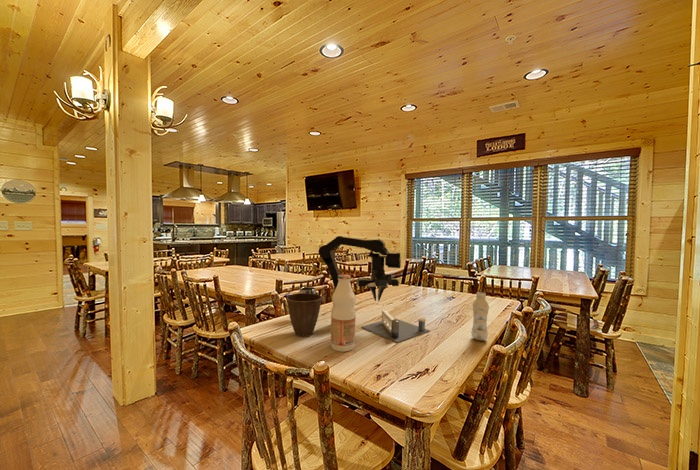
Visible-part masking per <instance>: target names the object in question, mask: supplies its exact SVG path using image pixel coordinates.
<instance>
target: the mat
mask: <svg viewBox="0 0 700 470" xmlns="http://www.w3.org/2000/svg"><path fill="white" fill-rule="evenodd" d="M393 318H394V319H395V320H399V338H397V339H394V338H392V337H391V335H392V334H391V333H390V332H389V330H388V329H387V328H386V327H385V326H384V324H383V323H382V320H381V321H376V322H373V323H370V324H365V325H362V326H361V329H364V330H366V331H368V332H370V333H373V334H375V335H378V336H380V337H382V338H385V339H387V340H389V341H392V342H393V343H396V344H400V343H402V342H405V341H407V340H410V339H413V338H416V337H418V336H421V335H423V334H427V333H429V332H430V329H427V328H425V331H423V332H421V331H418V326H419V325H417V324H412V323H409V322H407V321H404V320H401V319H398V318H396V317H393ZM388 323H389V320H388Z"/></svg>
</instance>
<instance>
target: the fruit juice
mask: <svg viewBox="0 0 700 470" xmlns="http://www.w3.org/2000/svg"><path fill="white" fill-rule="evenodd" d="M338 280H339V282H338V284H337V287H336V289H335V290H334V293H333V294H332V296H331V302H332V308H331V312H330V318H331V319H330V347H331V349H332V350H334V351H336V352H341V353H342V352H350V351H352V350H354V349H355V346H356V316H357V315H356V308H355V304H356V294H355V293H354V290H353V288H352V284H351V275H350V274H340V275H338Z"/></svg>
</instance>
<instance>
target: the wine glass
mask: <svg viewBox="0 0 700 470" xmlns="http://www.w3.org/2000/svg"><path fill="white" fill-rule="evenodd" d="M299 293H311V294H316V287H314V286H303V287H300V288H299Z"/></svg>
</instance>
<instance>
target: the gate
mask: <svg viewBox="0 0 700 470" xmlns="http://www.w3.org/2000/svg"><path fill="white" fill-rule="evenodd" d="M394 318H395V317H393V316H392V315H391V314H390V312H388V311H387V310H386V309H382V310H381V321H382V323H383V324H384V326H385V327H386V328H387V329H388V330H389V332H390V333H391V334H392V320H395V319H394ZM388 320H389V323H388Z"/></svg>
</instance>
